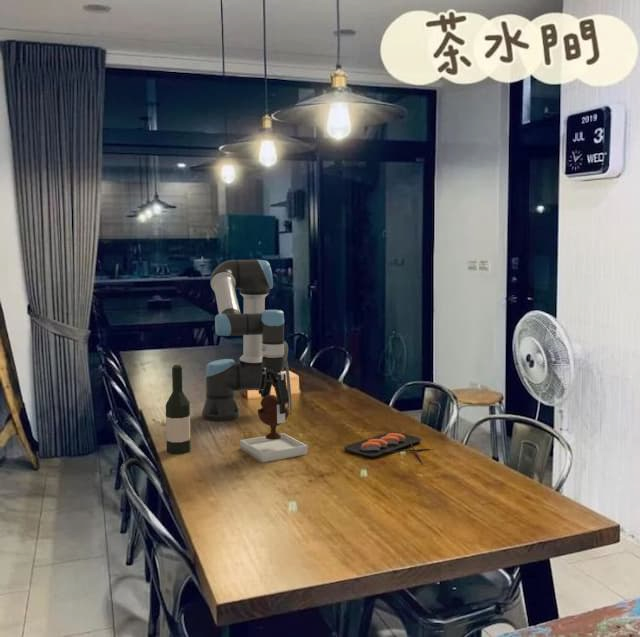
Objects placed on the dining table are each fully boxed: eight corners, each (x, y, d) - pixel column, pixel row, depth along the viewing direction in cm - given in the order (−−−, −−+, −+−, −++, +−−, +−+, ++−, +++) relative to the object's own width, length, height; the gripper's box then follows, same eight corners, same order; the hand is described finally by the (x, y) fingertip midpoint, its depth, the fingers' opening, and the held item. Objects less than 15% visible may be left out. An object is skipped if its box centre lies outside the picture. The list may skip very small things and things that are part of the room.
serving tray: (240, 448, 236) (240, 440, 236) (283, 441, 245) (283, 433, 245) (261, 462, 222) (261, 453, 221) (307, 454, 230) (307, 445, 230)
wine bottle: (195, 448, 236) (193, 363, 233) (183, 455, 228) (181, 368, 225) (174, 446, 239) (172, 362, 235) (161, 453, 231) (159, 366, 228)
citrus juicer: (267, 411, 288) (266, 341, 285) (277, 405, 297) (277, 338, 294) (291, 413, 284) (291, 343, 280) (300, 408, 293) (301, 339, 289)
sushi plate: (393, 435, 255) (393, 425, 254) (461, 453, 234) (461, 442, 233) (340, 452, 234) (340, 441, 234) (409, 473, 213) (409, 462, 213)
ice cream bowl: (285, 442, 226) (285, 398, 225) (253, 440, 229) (252, 397, 227) (292, 434, 237) (292, 392, 235) (262, 432, 239) (261, 390, 237)
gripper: (248, 351, 238) (249, 412, 240) (279, 361, 218) (279, 428, 220) (267, 349, 241) (268, 410, 244) (299, 359, 222) (299, 425, 224)
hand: (273, 418), depth 232 cm, fingers closed on ice cream bowl, 11 cm apart
